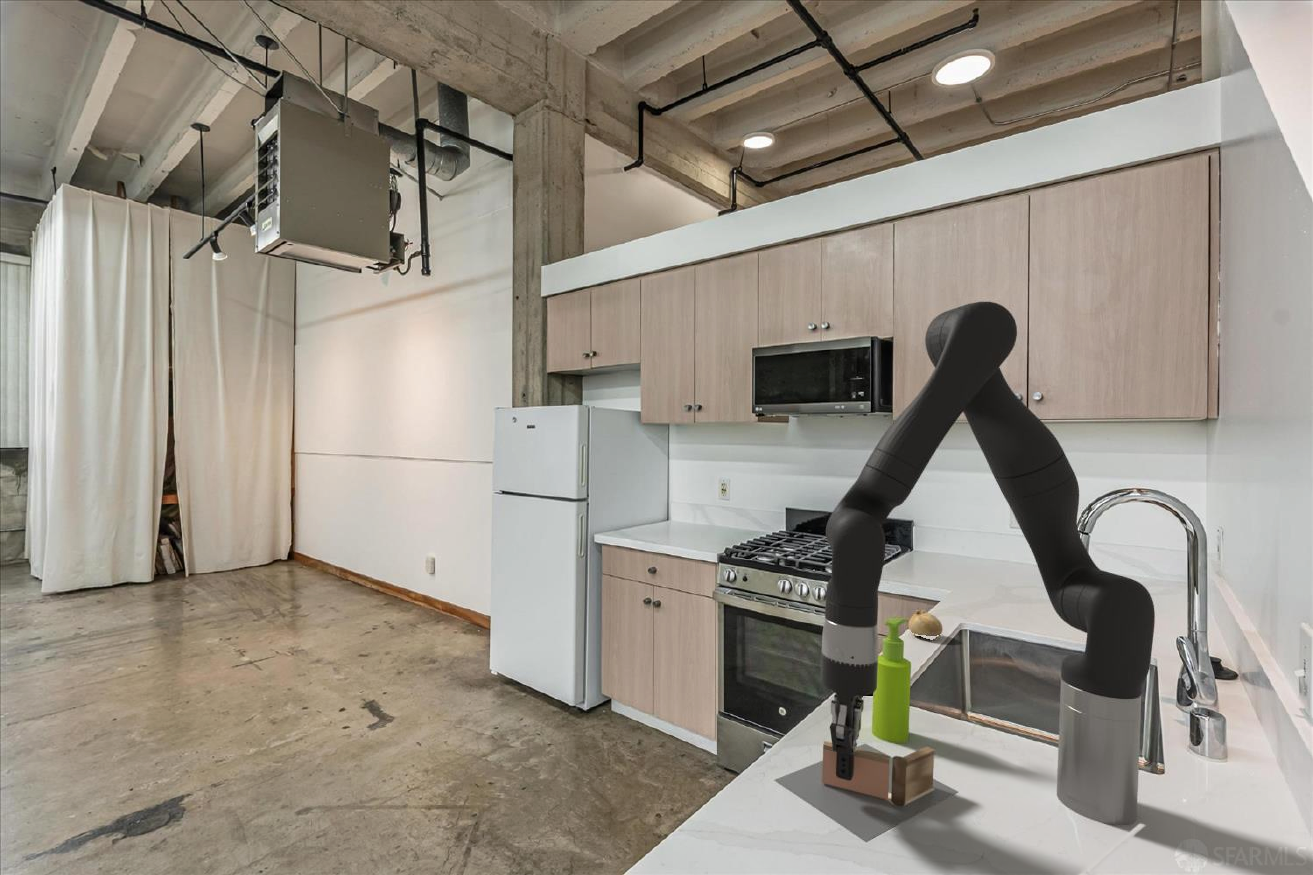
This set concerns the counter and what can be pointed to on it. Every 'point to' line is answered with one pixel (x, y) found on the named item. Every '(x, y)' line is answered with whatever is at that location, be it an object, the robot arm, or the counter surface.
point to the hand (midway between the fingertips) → (844, 776)
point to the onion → (925, 624)
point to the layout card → (859, 801)
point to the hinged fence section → (859, 772)
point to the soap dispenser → (892, 688)
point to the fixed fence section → (912, 775)
